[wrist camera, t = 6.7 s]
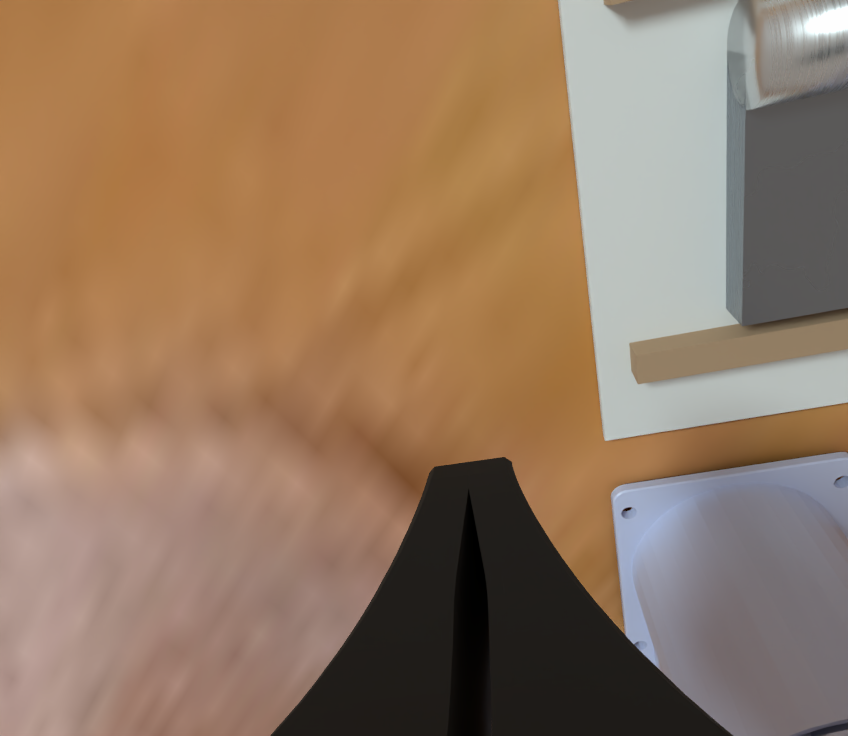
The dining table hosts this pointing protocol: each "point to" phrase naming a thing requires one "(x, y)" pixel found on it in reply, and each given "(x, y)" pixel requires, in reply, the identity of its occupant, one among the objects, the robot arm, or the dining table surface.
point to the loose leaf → (787, 159)
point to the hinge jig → (673, 228)
